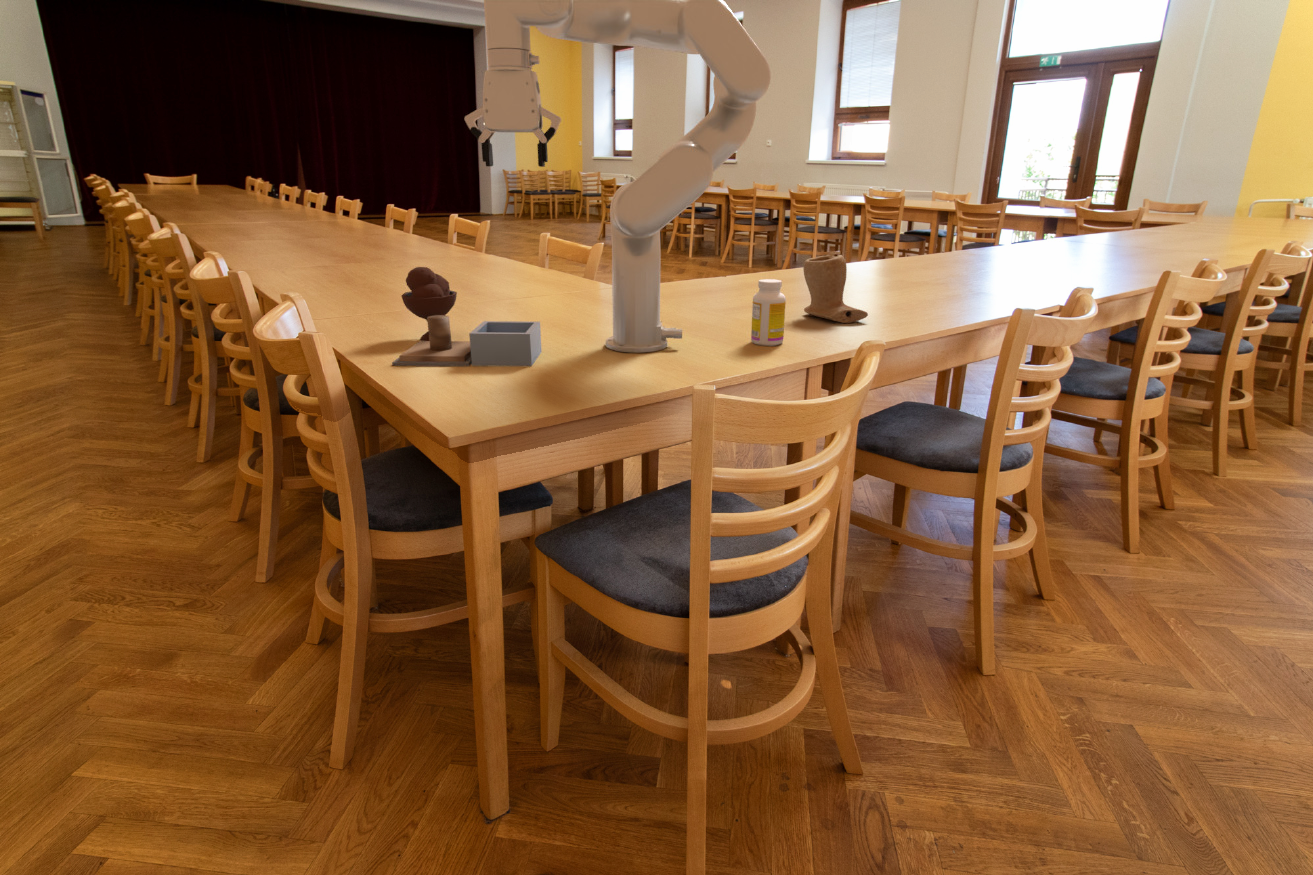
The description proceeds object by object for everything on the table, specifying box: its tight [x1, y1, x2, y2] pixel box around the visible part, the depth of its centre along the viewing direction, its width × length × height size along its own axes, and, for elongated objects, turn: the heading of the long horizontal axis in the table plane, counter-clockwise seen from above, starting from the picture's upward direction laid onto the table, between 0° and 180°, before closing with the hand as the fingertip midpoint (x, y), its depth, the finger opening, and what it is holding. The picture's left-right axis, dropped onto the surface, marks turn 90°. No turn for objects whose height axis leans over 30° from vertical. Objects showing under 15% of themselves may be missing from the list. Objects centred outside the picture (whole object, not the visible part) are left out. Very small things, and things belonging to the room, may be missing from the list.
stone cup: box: [803, 254, 869, 324], centre depth 176 cm, size 15×12×15 cm
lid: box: [398, 314, 471, 362], centre depth 141 cm, size 12×12×7 cm
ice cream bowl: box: [400, 266, 458, 341], centre depth 154 cm, size 11×11×15 cm
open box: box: [469, 320, 543, 367], centre depth 140 cm, size 11×11×6 cm
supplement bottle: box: [750, 278, 786, 347], centre depth 152 cm, size 7×7×13 cm
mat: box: [391, 356, 472, 367], centre depth 142 cm, size 14×14×1 cm
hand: (515, 166), depth 136 cm, fingers open, 9 cm apart
